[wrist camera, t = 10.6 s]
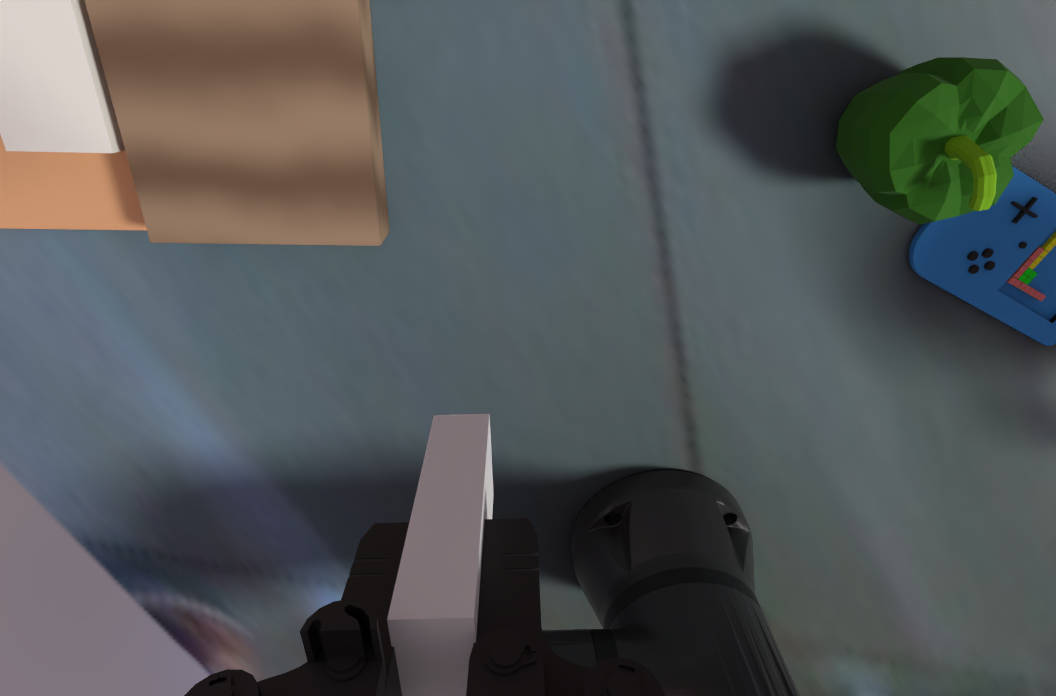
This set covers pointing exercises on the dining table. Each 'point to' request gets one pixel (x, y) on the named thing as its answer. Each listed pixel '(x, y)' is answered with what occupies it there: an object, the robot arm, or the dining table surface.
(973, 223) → the handheld gaming device
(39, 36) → the cream block
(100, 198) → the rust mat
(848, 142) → the bell pepper
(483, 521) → the robot arm
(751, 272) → the dining table surface
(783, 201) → the dining table surface
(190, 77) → the board
